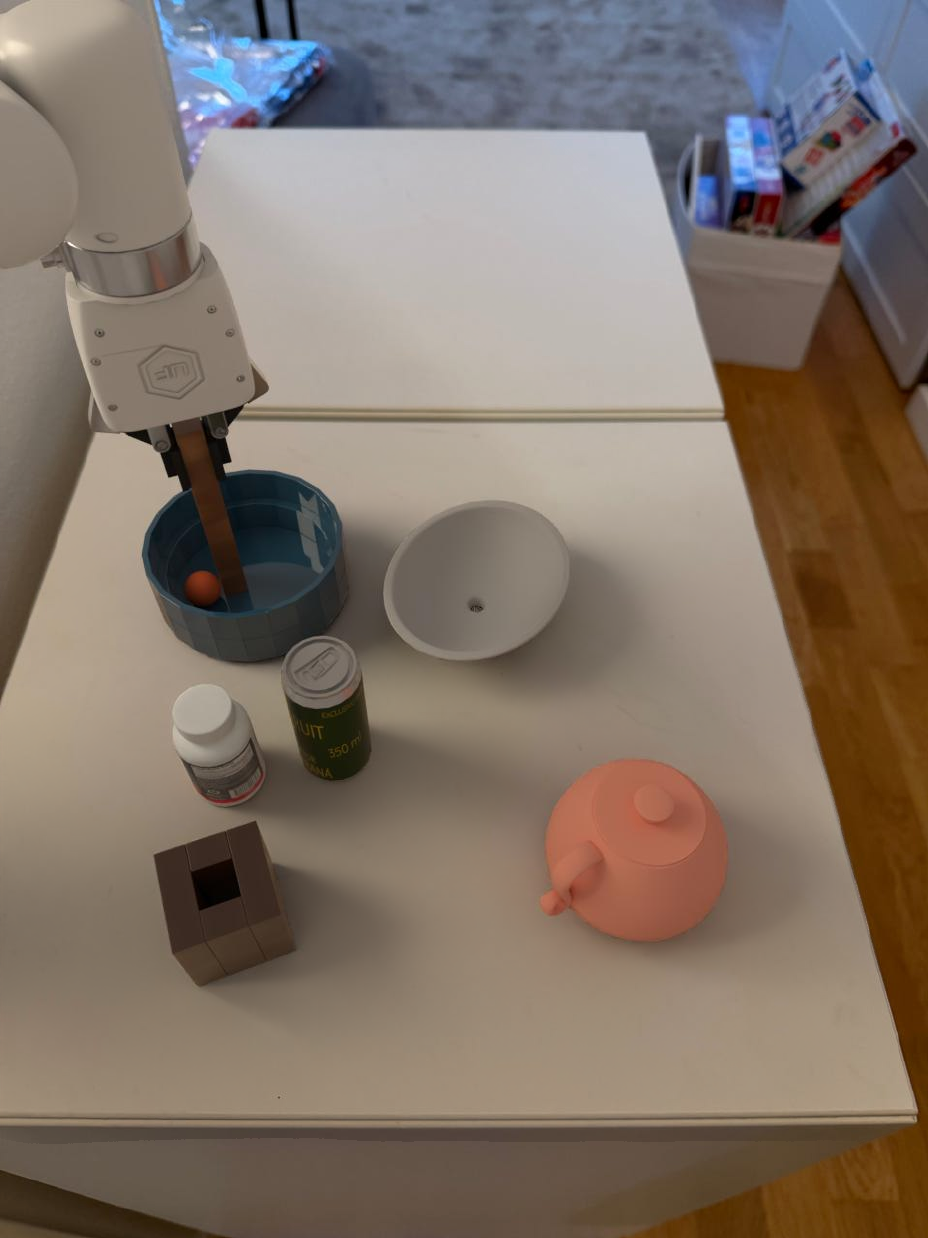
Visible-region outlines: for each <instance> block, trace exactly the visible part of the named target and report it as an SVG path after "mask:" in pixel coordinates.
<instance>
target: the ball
mask: <svg viewBox="0 0 928 1238" xmlns="http://www.w3.org/2000/svg"><path fill="white" fill-rule="evenodd" d="M184 592H185V595H186V597H187V599H188V600H189V601H190V602H191V603H192V604H194V605H197V606H201V607H205V606H209V605H212V604H213V603H215V602H216V601H217V600H218V598H219V597H220V594H221V583H220V581H219V579H218V578H217V577H216V576H215V575H214V574H212V573H210V572H207V571H198V572H195V573H193V574H191V575H190V576H189V577H188V578H187V580H186V582H185V586H184Z"/></svg>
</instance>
